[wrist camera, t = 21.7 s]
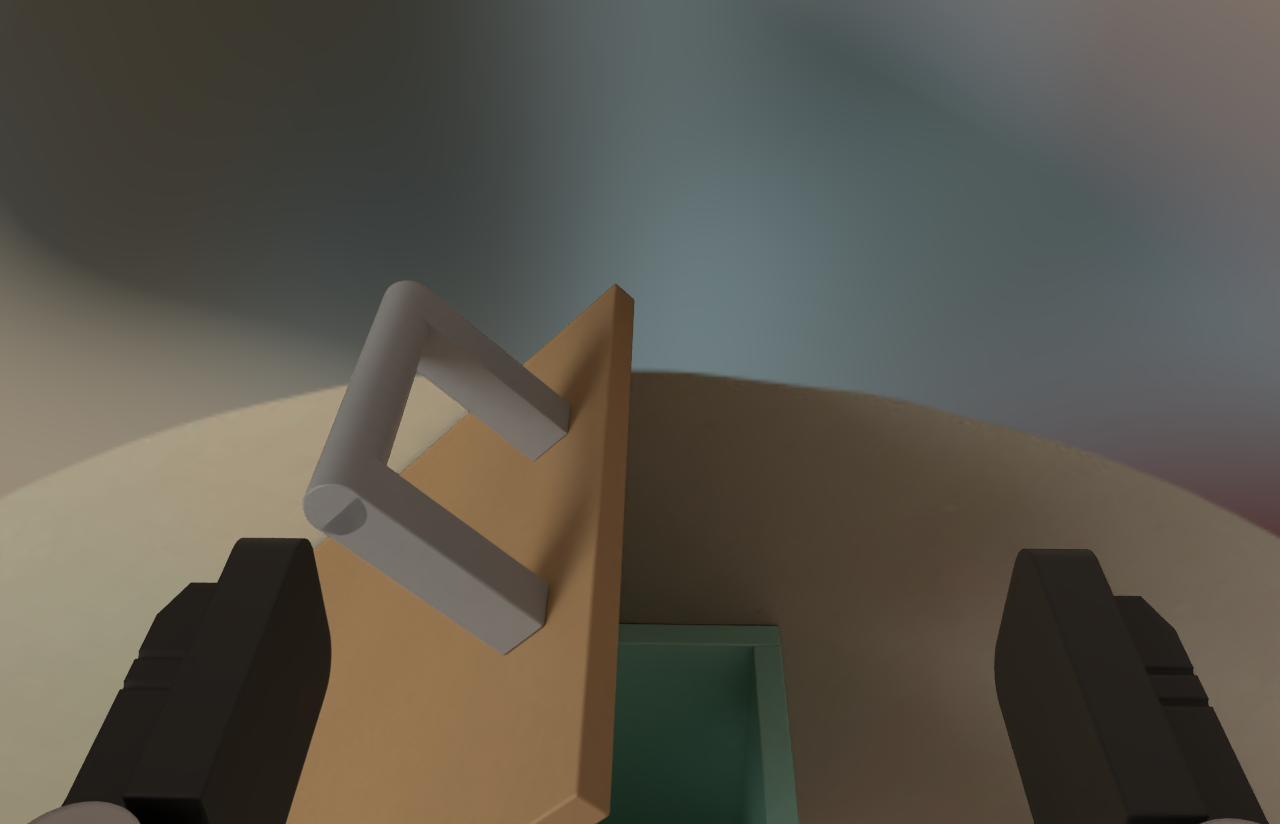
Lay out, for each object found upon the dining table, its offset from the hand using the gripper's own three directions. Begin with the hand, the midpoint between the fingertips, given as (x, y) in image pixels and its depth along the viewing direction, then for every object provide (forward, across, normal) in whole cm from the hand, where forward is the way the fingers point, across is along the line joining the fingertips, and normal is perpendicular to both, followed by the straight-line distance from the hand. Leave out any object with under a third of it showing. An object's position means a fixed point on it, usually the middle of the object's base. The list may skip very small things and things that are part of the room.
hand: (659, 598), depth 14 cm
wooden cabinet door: (+28, +12, +17) cm, 35 cm away
